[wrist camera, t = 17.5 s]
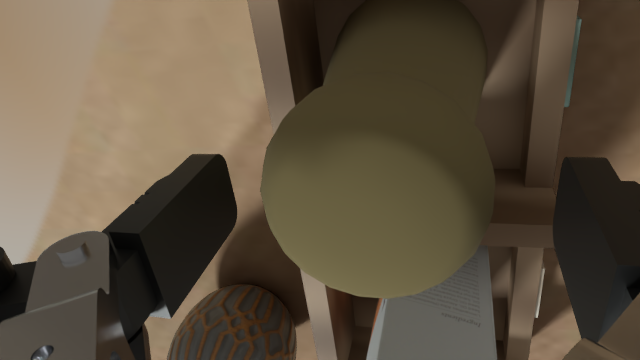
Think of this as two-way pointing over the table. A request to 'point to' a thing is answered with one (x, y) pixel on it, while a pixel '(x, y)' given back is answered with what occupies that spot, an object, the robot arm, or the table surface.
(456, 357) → the skincare box
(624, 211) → the robot arm
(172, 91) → the table surface
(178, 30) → the table surface
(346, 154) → the cork
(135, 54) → the table surface
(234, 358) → the vase
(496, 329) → the slot rack
